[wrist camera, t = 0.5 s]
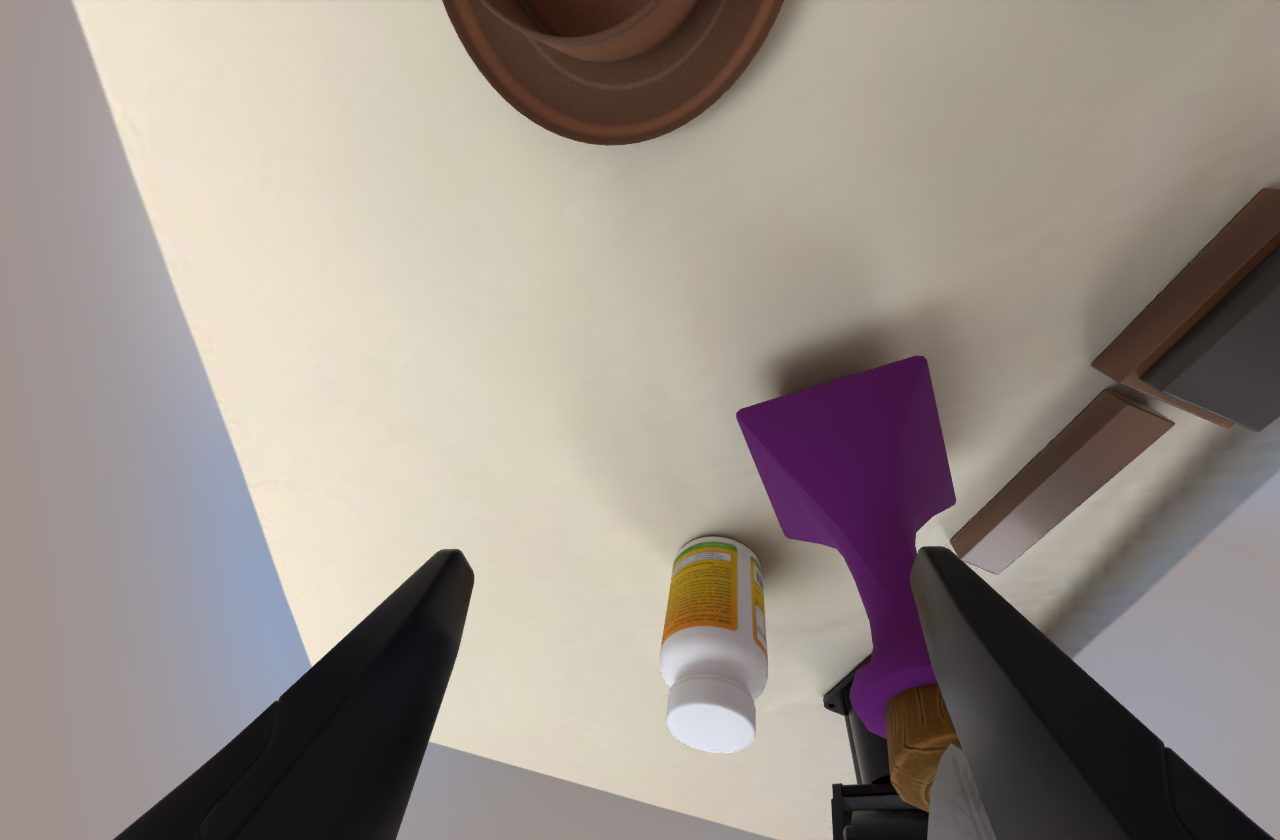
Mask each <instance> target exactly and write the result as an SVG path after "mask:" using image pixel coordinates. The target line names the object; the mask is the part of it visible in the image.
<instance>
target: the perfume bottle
mask: <svg viewBox="0 0 1280 840" xmlns="http://www.w3.org/2000/svg"><path fill="white" fill-rule="evenodd" d="M736 418H737V420H738V423H739V425H740V428H741V430H742V433H743V435H744V437H745V440H746V442H747V445H748V447H749V450H750V452H751V455H752V457H753V460H754V462H755V464H756V467H757V469H758V472H759V474H760V477H761V479H762V482H763V484H764V486H765V489H766V491H767V494H768V496H769V499H770V501H771V504H772V506H773V508H774V511H775V513H776V516H777V518H778V521H779V523H780V526H781V528H782V531H783V533H784V535H785V536H786V537H787V538H789V539H795V540H801V541H807V542H813V543H818V544H823V545H826V546H830V547H833V548H836V549H837V550H838V551H839V552H840V553H841V555H842V556H843V557H844V559H845V561H846V563H847V565H848V567H849V569H850V571H851V573H852V575H853V578H854V580H855V582H856V585H857V588H858V591H859V593H860V596H861V599H862V602H863V604H864V607H865V610H866V613H867V616H868V618H869V621H870V627H871V634H872V641H873V651H872V656H871V661H870V662H869V663H867V664H866V665H865V666H863V667H862V668H860V669H859V670H857V671H856V673H855V677H854V680H853V683H852V686H851V690H850V702H851V704H852V706H853V708H854V710H855V712H856V713H857V715H858V716H859V718H860V719H861V721H862V722H863V723H864V725H865V726H866V728H867V729H868V731H870V732H872V733H874V734H877V735H879V736H881V737H883V738H886V739H887V746H888V757H889V769H890V780H891V783H892V785H893V786H894V788H895V789H896V791H897V793H898V794H899V796H900V797H901V799H902V800H903V801H905V802H907V803H909V804H911V805H913V806H915V807H917V808H919V809H921V810H924V811H926V812H928V813H929V822H928V835H927V840H996V837H995V834H994V832H993V829H992V826H991V824H990V821H989V818H988V816H987V813H986V810H985V808H984V805H983V802H982V800H981V797H980V794H979V792H978V789H977V786H976V784H975V781H974V778H973V776H972V773H971V770H970V768H969V765H968V762H967V760H966V757H965V754H964V752H963V749H962V746H961V744H960V741H959V738H958V736H957V733H956V730H955V728H954V725H953V722H952V720H951V717H950V715H949V712H948V709H947V707H946V704H945V701H944V699H943V696H942V693H941V691H940V688H939V685H938V683H937V680H936V677H935V674H934V671H933V668H932V664H931V661H930V657H929V653H928V649H927V646H926V642H925V638H924V634H923V630H922V626H921V622H920V618H919V614H918V610H917V606H916V602H915V598H914V594H913V590H912V586H911V580H910V576H911V571H912V568H913V565H914V562H915V559H916V556H917V552H916V547H915V539H916V532H917V531H918V530H919V529H920V528H921V527H922V526H923V525H924V524H925V523H926V522H927V521H928V520H930V519H931V518H932V517H933V516H934V515H936V514H938V513H940V512H942V511H944V510H946V509H948V508H950V507H951V506H953V505H955V503H956V497H955V493H954V488H953V483H952V478H951V473H950V469H949V464H948V459H947V454H946V449H945V445H944V440H943V435H942V430H941V425H940V421H939V416H938V411H937V406H936V401H935V397H934V392H933V387H932V382H931V378H930V373H929V368H928V363H927V360H926V358H925V357H924V356H913V357H909V358H906V359H903V360H900V361H896V362H893V363H890V364H887V365H883V366H880V367H877V368H873V369H870V370H867V371H864V372H860V373H857V374H854V375H851V376H847V377H844V378H841V379H837V380H834V381H831V382H828V383H824V384H821V385H818V386H815V387H811V388H808V389H805V390H801V391H798V392H795V393H792V394H788V395H785V396H782V397H778V398H775V399H772V400H769V401H765V402H762V403H759V404H756V405H752V406H749V407H746V408H742V409H740V410H739V411H738V412H737V413H736Z"/></svg>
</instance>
